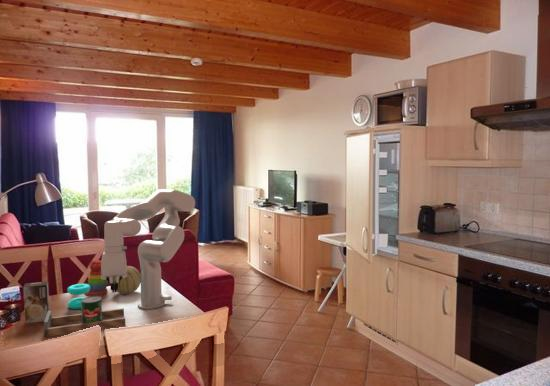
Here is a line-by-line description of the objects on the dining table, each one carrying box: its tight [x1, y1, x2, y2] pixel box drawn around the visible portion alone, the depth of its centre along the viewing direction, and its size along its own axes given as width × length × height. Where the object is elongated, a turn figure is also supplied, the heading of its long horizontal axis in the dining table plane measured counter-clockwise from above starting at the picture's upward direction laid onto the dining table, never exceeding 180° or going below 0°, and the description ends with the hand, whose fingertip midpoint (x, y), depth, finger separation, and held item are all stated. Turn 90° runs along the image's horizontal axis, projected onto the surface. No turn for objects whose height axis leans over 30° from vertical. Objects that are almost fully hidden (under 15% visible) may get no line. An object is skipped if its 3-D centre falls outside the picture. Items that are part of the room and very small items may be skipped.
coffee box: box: [22, 280, 51, 324], centre depth 178 cm, size 9×6×16 cm
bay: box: [43, 308, 126, 338], centre depth 172 cm, size 30×13×6 cm, turn 113°
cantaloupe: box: [112, 265, 141, 295], centre depth 215 cm, size 15×15×15 cm
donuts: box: [67, 283, 90, 310], centre depth 195 cm, size 10×10×10 cm
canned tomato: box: [81, 296, 103, 323], centre depth 173 cm, size 8×8×11 cm
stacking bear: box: [84, 259, 109, 297], centre depth 215 cm, size 11×10×18 cm
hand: (114, 291), depth 175 cm, fingers closed
